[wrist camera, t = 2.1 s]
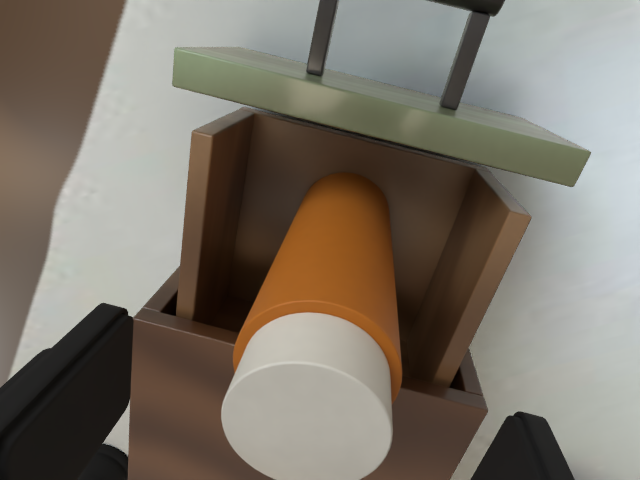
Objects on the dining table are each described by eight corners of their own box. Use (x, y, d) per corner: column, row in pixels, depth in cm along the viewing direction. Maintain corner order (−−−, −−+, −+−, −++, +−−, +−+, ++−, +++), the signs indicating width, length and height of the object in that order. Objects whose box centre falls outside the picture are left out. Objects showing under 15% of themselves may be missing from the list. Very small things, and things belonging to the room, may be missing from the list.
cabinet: (209, 231, 25) (132, 318, 17) (453, 294, 24) (488, 411, 17) (188, 407, 31) (125, 529, 23) (381, 458, 31) (383, 598, 23)
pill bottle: (287, 188, 21) (172, 373, 9) (374, 159, 20) (371, 329, 8) (318, 264, 22) (255, 506, 11) (400, 241, 21) (430, 484, 9)
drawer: (252, -71, 17) (185, -135, 11) (570, 7, 17) (678, -15, 11) (207, 289, 25) (153, 367, 19) (425, 345, 25) (442, 443, 19)
